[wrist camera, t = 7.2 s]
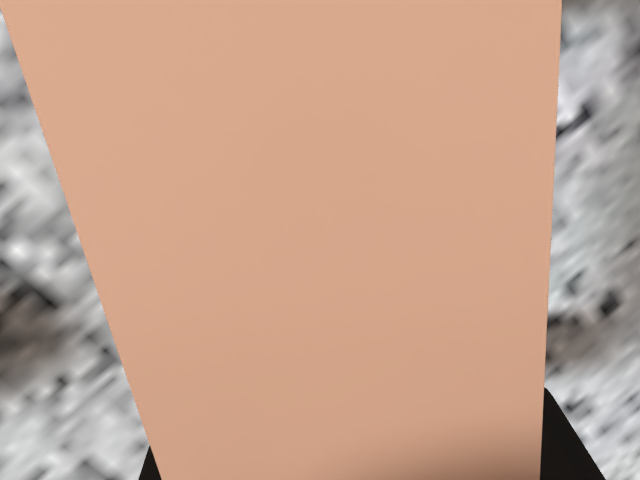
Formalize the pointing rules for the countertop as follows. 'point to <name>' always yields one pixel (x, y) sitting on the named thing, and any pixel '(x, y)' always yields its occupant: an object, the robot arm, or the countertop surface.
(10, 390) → the countertop surface
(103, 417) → the countertop surface
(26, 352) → the countertop surface
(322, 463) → the clay strip
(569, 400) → the countertop surface
